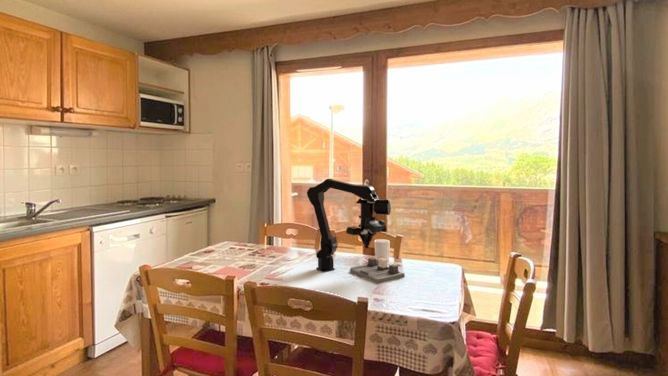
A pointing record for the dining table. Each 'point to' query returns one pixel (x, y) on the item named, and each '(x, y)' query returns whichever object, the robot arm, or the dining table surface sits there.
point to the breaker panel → (377, 272)
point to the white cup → (382, 249)
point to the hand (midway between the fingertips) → (366, 248)
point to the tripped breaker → (382, 264)
